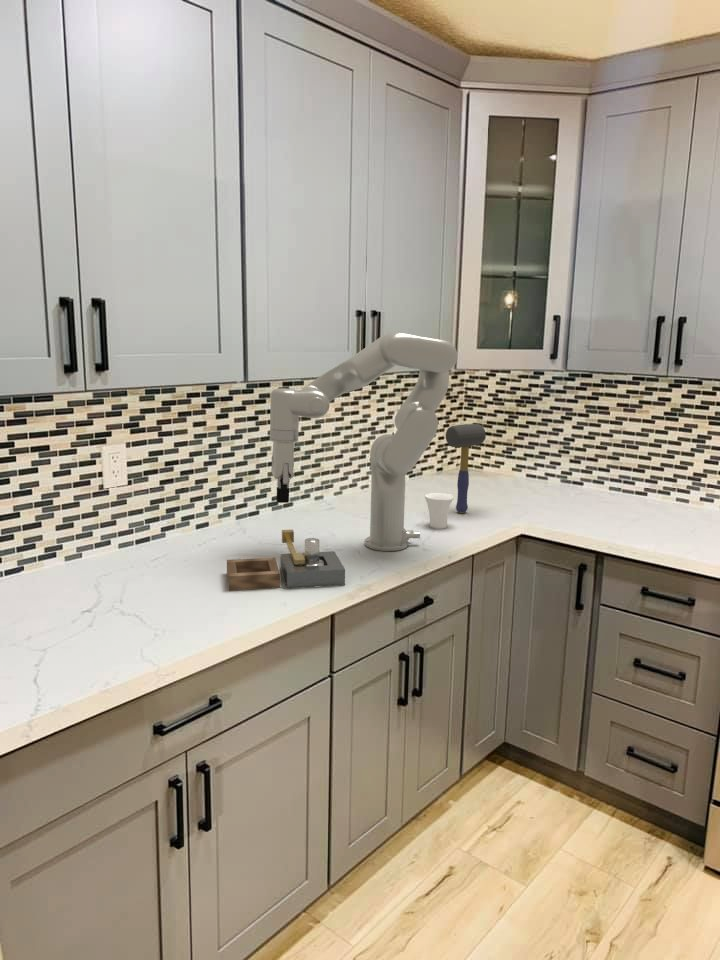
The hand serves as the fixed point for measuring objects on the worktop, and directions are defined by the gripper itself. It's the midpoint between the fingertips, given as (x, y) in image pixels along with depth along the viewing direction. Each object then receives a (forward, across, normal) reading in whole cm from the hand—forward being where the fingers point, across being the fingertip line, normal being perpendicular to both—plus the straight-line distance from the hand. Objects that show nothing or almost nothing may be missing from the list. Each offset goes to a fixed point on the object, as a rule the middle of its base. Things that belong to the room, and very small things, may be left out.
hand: (282, 501), depth 194 cm
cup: (+13, -16, +51) cm, 55 cm away
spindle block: (+14, +22, +5) cm, 26 cm away
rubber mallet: (+12, -30, +64) cm, 72 cm away
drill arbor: (+14, +22, +5) cm, 26 cm away
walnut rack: (+14, +22, -10) cm, 28 cm away
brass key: (+9, +15, +1) cm, 18 cm away
